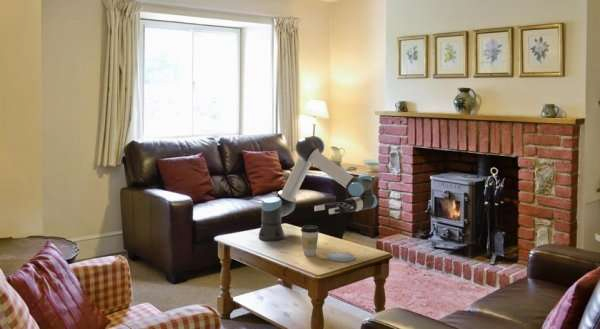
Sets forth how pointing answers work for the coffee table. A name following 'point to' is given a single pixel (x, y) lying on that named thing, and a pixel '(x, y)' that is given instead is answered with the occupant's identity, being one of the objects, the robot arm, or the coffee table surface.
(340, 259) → the saucer
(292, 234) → the coffee table surface
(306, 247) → the coffee cup
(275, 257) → the coffee table surface
